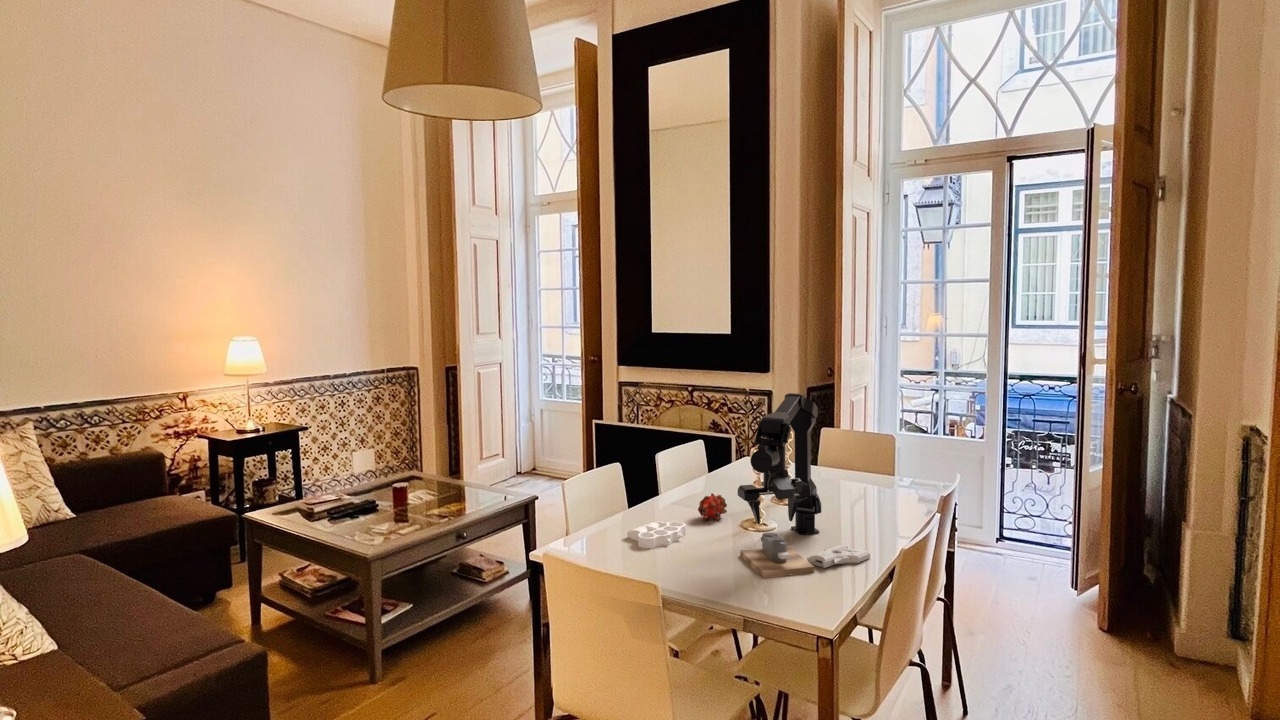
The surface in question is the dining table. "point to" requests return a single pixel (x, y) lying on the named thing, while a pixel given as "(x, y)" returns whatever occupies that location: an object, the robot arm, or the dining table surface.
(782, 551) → the plug
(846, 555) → the gun
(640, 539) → the white egg tray
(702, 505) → the dragon fruit
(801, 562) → the oak board
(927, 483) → the dining table surface
